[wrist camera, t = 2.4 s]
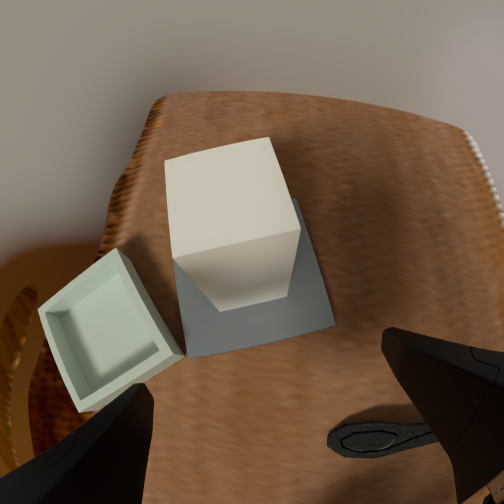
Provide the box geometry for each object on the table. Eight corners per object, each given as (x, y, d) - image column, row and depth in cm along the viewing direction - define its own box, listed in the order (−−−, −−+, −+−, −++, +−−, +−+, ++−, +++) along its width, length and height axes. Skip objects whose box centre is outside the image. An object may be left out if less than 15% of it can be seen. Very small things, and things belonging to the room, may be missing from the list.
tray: (185, 356, 23) (173, 354, 20) (97, 409, 21) (79, 412, 18) (130, 260, 26) (115, 247, 23) (56, 316, 25) (37, 309, 22)
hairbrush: (336, 396, 19) (548, 361, 15) (329, 392, 22) (528, 365, 19) (323, 492, 16) (541, 434, 12) (319, 476, 19) (521, 432, 16)
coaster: (333, 326, 23) (335, 324, 22) (191, 358, 23) (188, 358, 22) (295, 203, 28) (296, 197, 27) (172, 231, 27) (169, 226, 26)
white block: (286, 296, 23) (300, 228, 12) (219, 311, 23) (172, 257, 12) (270, 236, 25) (268, 136, 14) (208, 250, 25) (164, 160, 14)
